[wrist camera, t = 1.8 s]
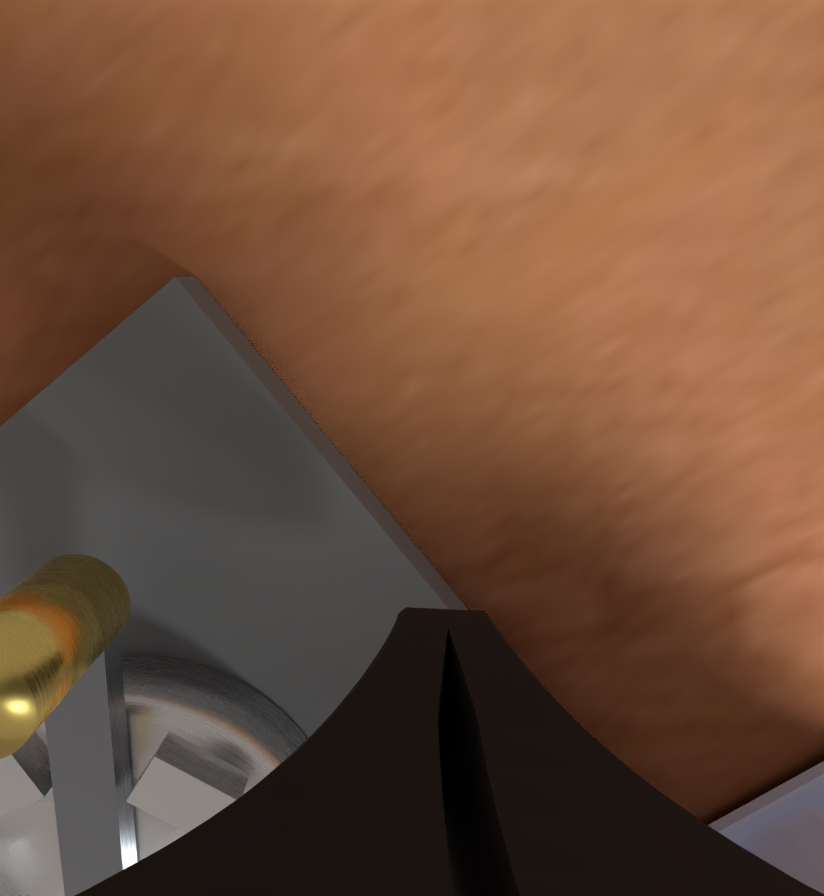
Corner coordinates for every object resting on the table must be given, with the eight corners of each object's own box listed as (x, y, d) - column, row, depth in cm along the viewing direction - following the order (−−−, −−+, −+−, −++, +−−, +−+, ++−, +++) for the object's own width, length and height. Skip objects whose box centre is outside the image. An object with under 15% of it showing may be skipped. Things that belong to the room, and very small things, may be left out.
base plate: (658, 842, 17) (676, 887, 16) (157, 1121, 20) (139, 1177, 19) (196, 276, 14) (173, 276, 13) (-321, 716, 17) (-381, 752, 16)
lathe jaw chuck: (337, 973, 17) (298, 1269, 12) (-11, 953, 17) (-195, 1239, 12) (346, 521, 14) (298, 665, 9) (-83, 499, 14) (-375, 630, 9)
